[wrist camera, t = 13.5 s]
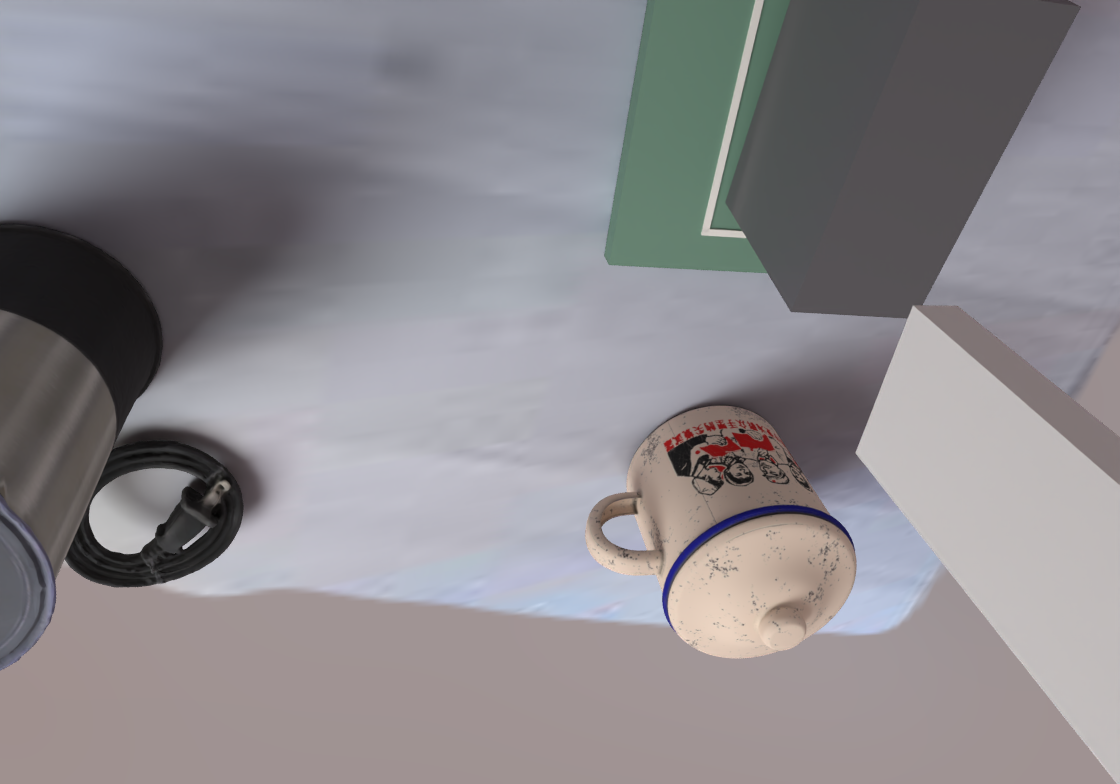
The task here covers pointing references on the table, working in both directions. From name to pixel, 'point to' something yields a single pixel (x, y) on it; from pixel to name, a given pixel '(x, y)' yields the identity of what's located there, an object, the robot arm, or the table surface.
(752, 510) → the teacup with lid
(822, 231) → the block
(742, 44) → the pin board
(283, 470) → the table surface
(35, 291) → the milk frother
